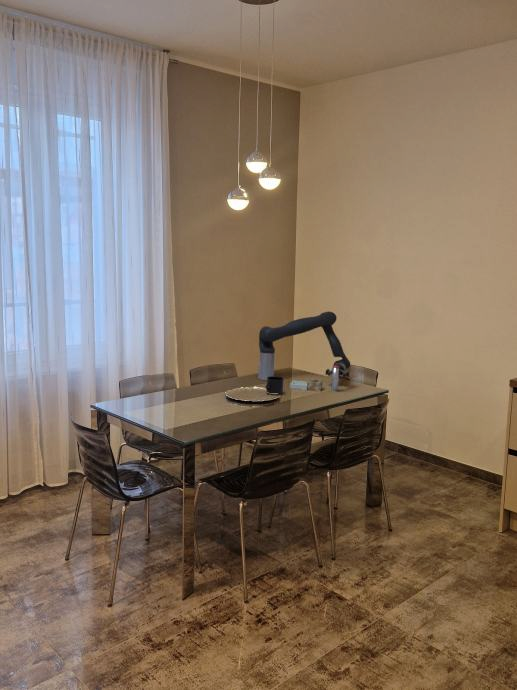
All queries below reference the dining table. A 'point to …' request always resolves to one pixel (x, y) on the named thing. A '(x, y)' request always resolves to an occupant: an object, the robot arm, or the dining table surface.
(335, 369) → the cylinder
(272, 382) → the mug
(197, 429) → the dining table surface
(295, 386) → the tray
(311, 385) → the block
